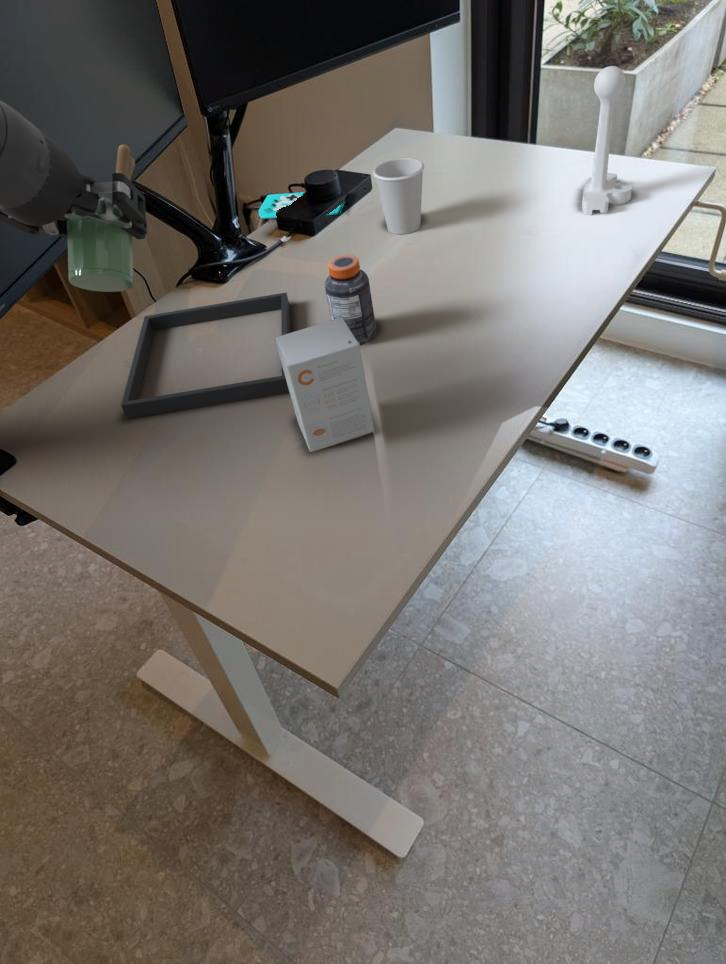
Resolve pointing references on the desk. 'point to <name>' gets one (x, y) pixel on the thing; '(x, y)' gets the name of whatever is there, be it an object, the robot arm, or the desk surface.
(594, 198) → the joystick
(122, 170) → the stick
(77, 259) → the green cup
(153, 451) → the desk surface
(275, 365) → the desk surface
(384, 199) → the dixie cup
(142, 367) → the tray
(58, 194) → the robot arm
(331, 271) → the pill bottle
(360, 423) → the small box
